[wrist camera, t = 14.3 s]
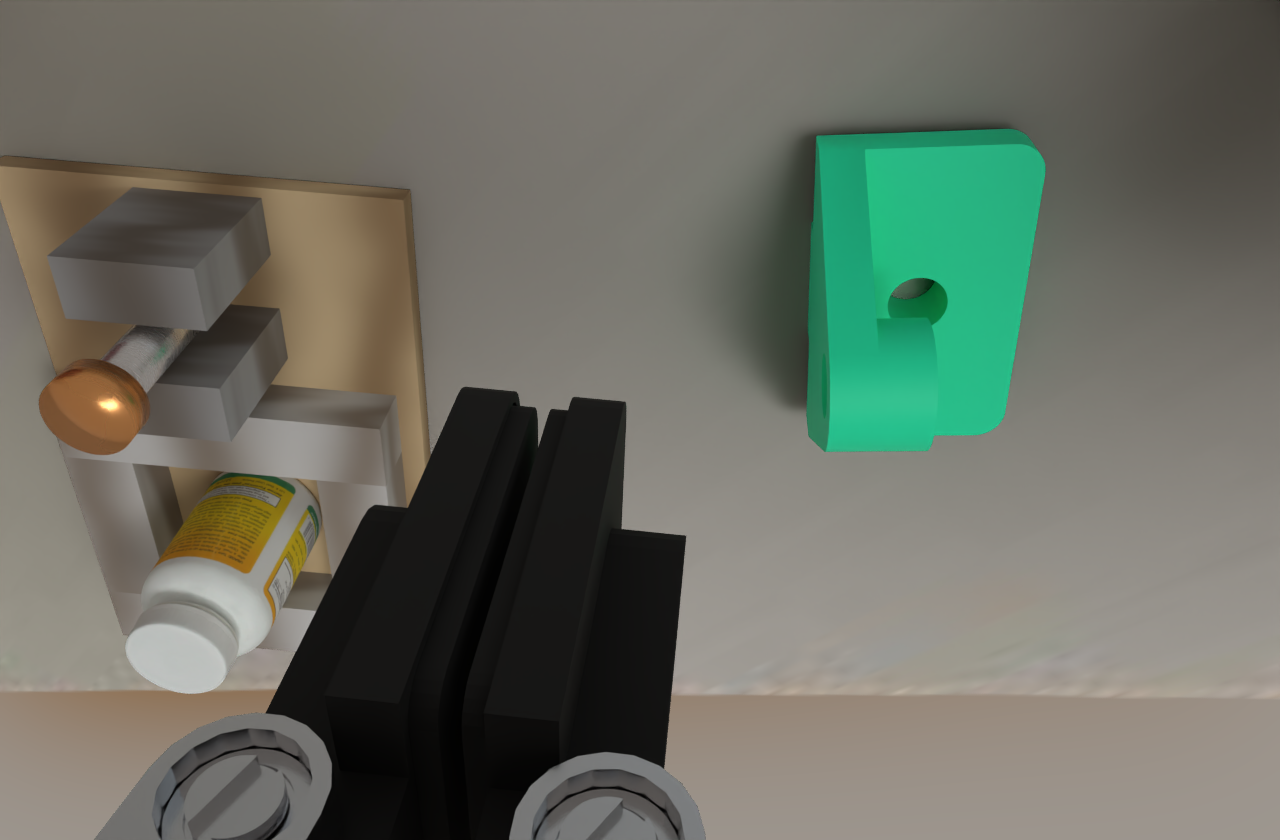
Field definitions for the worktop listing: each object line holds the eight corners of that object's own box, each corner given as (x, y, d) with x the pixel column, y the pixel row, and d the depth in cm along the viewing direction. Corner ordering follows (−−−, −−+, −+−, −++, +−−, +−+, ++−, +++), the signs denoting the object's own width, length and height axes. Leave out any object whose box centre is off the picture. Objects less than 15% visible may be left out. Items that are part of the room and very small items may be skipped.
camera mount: (987, 398, 43) (1050, 566, 35) (805, 400, 44) (822, 565, 35) (1031, 117, 36) (1121, 240, 28) (814, 125, 37) (838, 247, 29)
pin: (237, 254, 40) (120, 383, 32) (249, 322, 41) (142, 459, 34) (161, 247, 40) (27, 374, 32) (176, 315, 41) (53, 450, 34)
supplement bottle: (347, 524, 48) (272, 684, 40) (264, 562, 50) (177, 721, 42) (270, 442, 46) (175, 595, 38) (186, 485, 48) (78, 639, 40)
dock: (410, 189, 39) (355, 271, 34) (442, 612, 53) (407, 722, 47) (4, 155, 40) (-119, 231, 34) (137, 583, 53) (65, 689, 47)
